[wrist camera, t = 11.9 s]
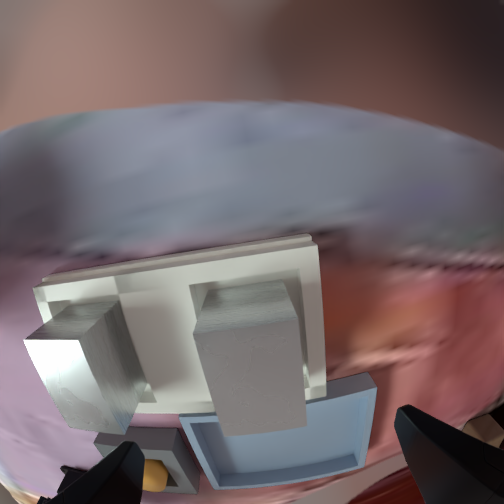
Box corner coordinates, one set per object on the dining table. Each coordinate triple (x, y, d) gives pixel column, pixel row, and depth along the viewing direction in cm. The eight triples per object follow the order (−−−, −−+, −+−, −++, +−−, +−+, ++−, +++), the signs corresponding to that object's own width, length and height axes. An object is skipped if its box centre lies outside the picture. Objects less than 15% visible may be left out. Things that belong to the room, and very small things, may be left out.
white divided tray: (319, 379, 18) (326, 398, 16) (95, 394, 18) (85, 411, 16) (307, 233, 16) (317, 240, 14) (49, 274, 16) (31, 284, 14)
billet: (292, 370, 17) (307, 426, 12) (228, 378, 17) (224, 436, 12) (282, 278, 15) (298, 318, 10) (207, 289, 15) (192, 333, 11)
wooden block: (467, 420, 21) (541, 519, 3) (489, 412, 21) (560, 498, 3) (432, 468, 23) (483, 562, 5) (455, 460, 23) (507, 543, 5)
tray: (358, 452, 20) (363, 467, 18) (215, 474, 20) (214, 489, 18) (367, 371, 18) (377, 387, 16) (183, 399, 18) (178, 417, 16)
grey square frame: (200, 474, 20) (197, 494, 18) (133, 469, 20) (127, 487, 18) (177, 428, 19) (171, 450, 16) (103, 424, 19) (93, 443, 16)
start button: (176, 468, 19) (171, 493, 17) (140, 466, 20) (133, 489, 17) (163, 445, 19) (155, 471, 16) (125, 442, 19) (115, 467, 16)
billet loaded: (147, 383, 17) (124, 434, 12) (98, 382, 17) (69, 427, 12) (118, 300, 15) (78, 340, 11) (68, 305, 16) (23, 340, 11)
